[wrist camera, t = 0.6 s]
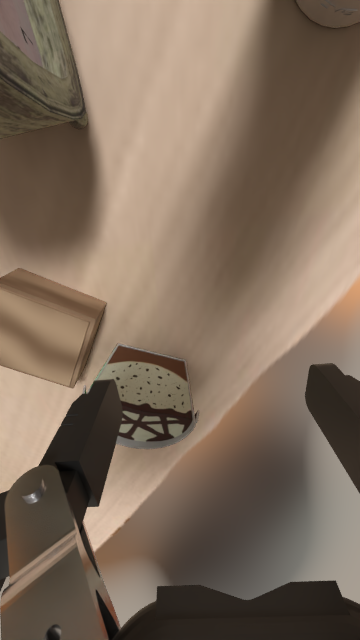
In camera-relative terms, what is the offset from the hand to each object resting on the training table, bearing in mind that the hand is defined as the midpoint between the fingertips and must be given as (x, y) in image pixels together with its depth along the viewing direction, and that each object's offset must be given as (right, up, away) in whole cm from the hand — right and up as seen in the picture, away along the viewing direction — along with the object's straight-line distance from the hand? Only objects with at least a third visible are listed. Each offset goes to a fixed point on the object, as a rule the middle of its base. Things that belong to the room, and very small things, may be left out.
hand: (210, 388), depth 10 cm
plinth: (-17, +2, +20) cm, 26 cm away
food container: (-6, -4, +24) cm, 25 cm away
